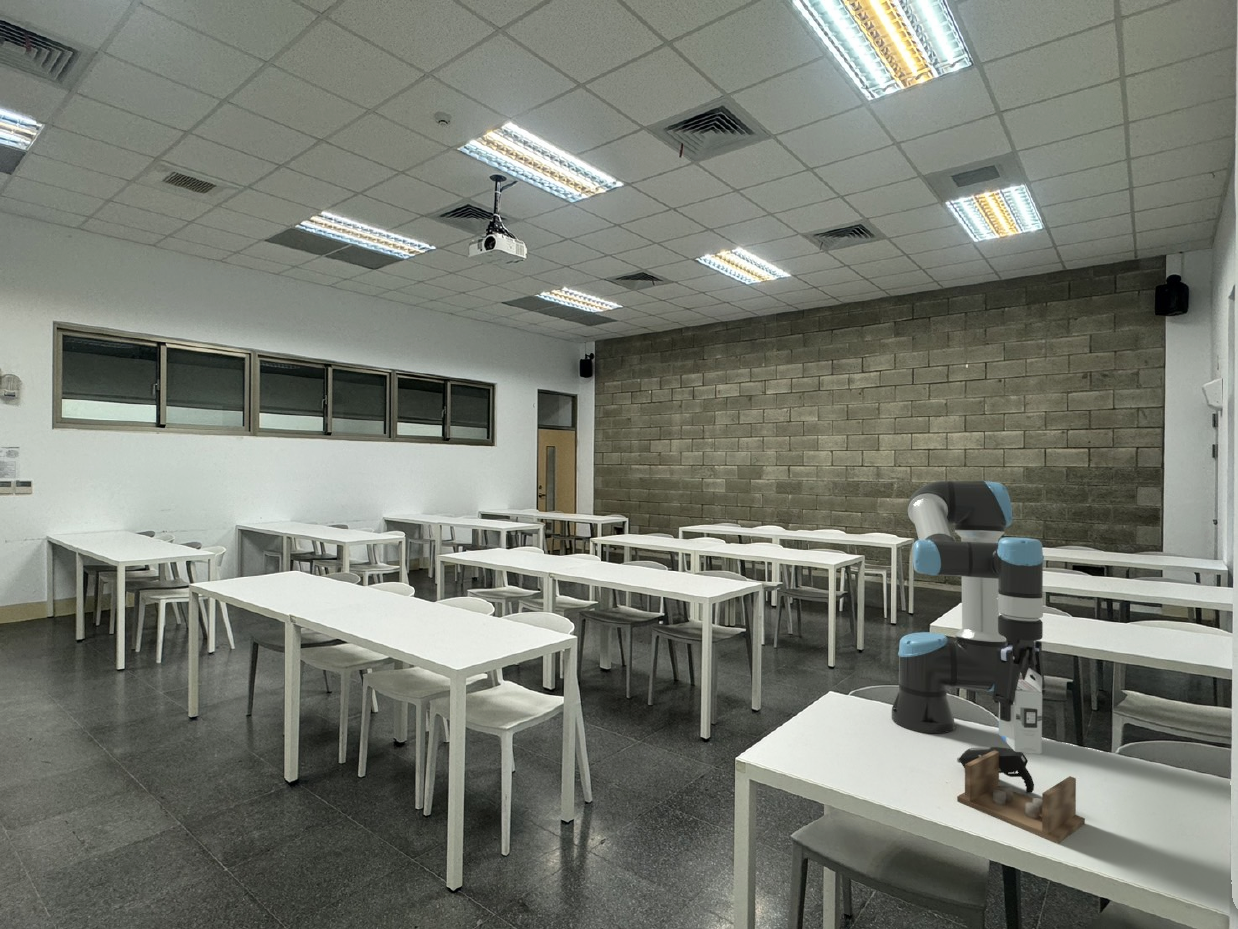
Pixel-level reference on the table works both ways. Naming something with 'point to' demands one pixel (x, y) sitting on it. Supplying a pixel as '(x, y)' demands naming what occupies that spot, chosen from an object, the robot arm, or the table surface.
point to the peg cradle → (1021, 801)
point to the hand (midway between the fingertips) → (1019, 731)
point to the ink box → (1028, 715)
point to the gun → (1003, 762)
